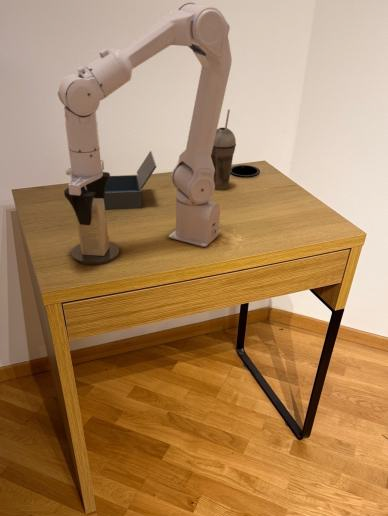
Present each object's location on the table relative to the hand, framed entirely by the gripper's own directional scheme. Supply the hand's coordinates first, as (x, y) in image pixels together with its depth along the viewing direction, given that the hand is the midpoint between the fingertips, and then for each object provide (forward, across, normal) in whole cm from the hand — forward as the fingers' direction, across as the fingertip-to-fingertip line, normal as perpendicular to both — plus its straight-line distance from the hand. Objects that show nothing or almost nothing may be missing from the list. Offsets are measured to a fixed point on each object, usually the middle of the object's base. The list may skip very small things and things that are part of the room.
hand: (91, 216), depth 101 cm
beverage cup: (+9, -45, +21) cm, 50 cm away
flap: (+1, -32, +3) cm, 32 cm away
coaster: (+8, 0, 0) cm, 8 cm away
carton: (+8, -29, -5) cm, 30 cm away
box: (+8, 0, 0) cm, 8 cm away
